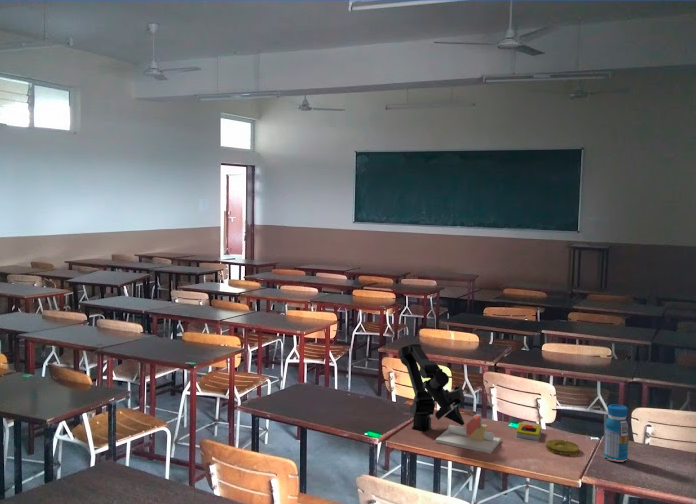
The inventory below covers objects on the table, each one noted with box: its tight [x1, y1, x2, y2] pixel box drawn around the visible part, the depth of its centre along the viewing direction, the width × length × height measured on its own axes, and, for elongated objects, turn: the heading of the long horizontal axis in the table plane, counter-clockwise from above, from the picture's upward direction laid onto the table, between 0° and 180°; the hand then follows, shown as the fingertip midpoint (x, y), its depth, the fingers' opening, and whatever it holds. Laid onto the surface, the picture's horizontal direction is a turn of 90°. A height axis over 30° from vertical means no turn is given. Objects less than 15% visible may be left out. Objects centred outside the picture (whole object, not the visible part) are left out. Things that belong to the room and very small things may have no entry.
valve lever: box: [466, 413, 482, 435], centre depth 245 cm, size 14×2×4 cm, turn 151°
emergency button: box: [514, 423, 543, 443], centre depth 259 cm, size 9×4×15 cm
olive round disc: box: [545, 439, 580, 457], centre depth 243 cm, size 12×12×2 cm
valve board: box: [435, 423, 502, 454], centre depth 249 cm, size 22×15×6 cm
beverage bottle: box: [603, 403, 630, 460], centre depth 234 cm, size 8×8×20 cm
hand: (463, 424), depth 247 cm, fingers closed
